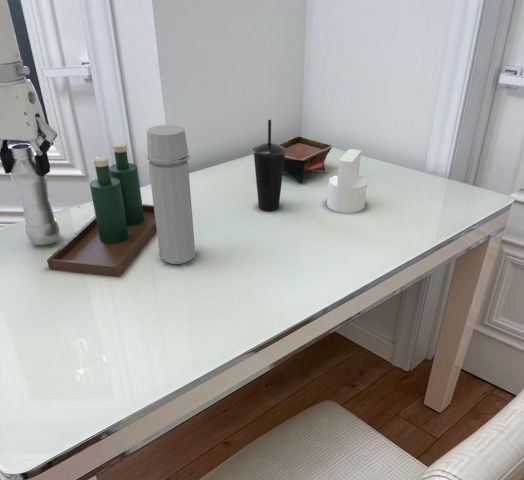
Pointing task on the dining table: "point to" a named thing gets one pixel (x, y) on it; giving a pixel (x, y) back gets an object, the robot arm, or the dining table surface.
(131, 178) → the green bottle
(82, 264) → the tray
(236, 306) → the dining table surface
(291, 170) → the rectangular planter
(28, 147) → the silver metal bottle
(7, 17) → the robot arm
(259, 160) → the drinking cup
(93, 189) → the green bottle
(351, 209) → the base with upright slab
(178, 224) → the water bottle
